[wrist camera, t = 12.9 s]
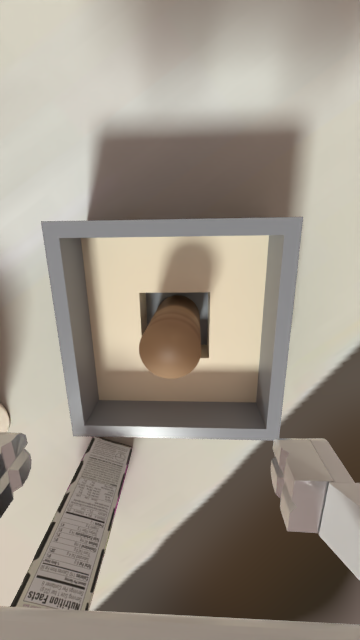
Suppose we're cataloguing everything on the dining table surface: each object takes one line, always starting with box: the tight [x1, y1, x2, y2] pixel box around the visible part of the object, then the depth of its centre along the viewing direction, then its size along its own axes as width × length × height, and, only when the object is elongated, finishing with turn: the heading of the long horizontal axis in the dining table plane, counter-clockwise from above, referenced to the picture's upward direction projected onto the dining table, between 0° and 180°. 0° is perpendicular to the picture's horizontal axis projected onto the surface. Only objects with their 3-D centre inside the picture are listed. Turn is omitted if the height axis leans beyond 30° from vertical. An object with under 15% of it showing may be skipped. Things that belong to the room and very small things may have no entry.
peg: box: [139, 295, 201, 379], centre depth 21 cm, size 4×4×8 cm
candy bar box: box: [10, 436, 132, 611], centre depth 24 cm, size 11×5×16 cm, turn 163°
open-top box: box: [41, 217, 303, 440], centre depth 22 cm, size 16×16×8 cm
